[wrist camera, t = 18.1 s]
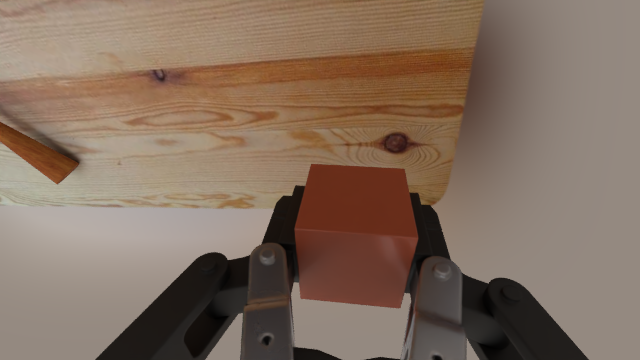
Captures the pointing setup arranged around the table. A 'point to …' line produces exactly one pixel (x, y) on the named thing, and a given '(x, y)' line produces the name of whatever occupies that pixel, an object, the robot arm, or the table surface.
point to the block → (355, 235)
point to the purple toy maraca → (37, 154)
